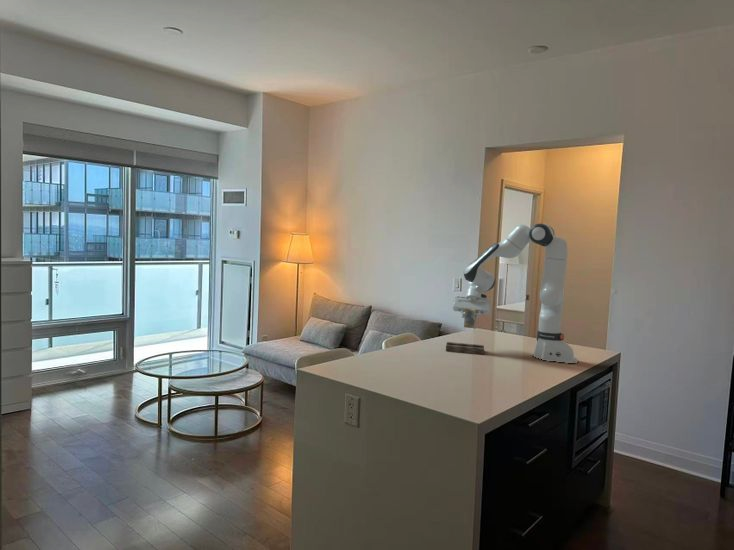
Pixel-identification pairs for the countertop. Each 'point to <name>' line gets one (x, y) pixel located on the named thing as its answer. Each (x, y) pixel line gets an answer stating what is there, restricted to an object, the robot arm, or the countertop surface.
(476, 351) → the bridge
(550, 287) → the robot arm
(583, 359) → the countertop surface
